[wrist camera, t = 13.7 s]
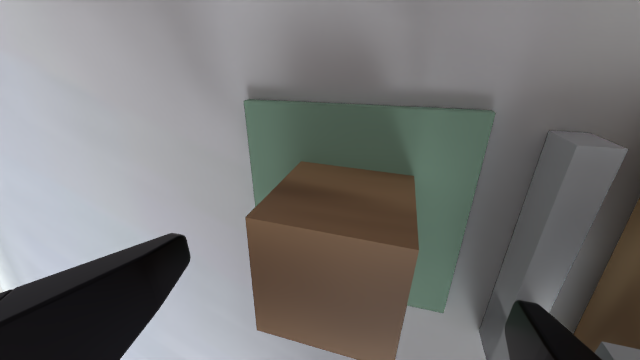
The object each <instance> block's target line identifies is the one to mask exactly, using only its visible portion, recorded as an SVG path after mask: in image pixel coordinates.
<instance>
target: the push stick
mask: <svg viewBox="0 0 640 360" xmlns="http://www.w3.org/2000/svg"><path fill="white" fill-rule="evenodd" d="M573 335H575V336H576V337H577V338H578V339H579V340H580V341H581V342H583V343H584V344H585V345H586V346H587V347H588V348H589V349H591V350H592V351H593V352H594V353H595V351H596V350H597V348H598V347H599V345H600V343H601V342H607V343H612V344H616V345H621V346H626V347H630V348H635V349H640V197H639V199H638V201H637V204H636V206H635V208H634V210H633V212H632V214H631V216H630V218H629V220H628V222H627V224H626V226H625V228H624V231H623V233H622V235H621V237H620V239H619V241H618V243H617V245H616V247H615V249H614V251H613V253H612V255H611V258H610V260H609V262H608V264H607V266H606V268H605V270H604V272H603V274H602V276H601V278H600V280H599V282H598V285H597V287H596V289H595V291H594V293H593V295H592V297H591V299H590V301H589V303H588V305H587V307H586V309H585V311H584V314H583V316H582V318H581V320H580V322H579V324H578V326H577V328H576V330H575V332H574V334H573Z"/></svg>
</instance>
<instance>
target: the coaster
mask: <svg viewBox="0 0 640 360" xmlns="http://www.w3.org/2000/svg"><path fill="white" fill-rule="evenodd" d="M244 108H245V117H246V126H247V135H248V144H249V153H250V162H251V171H252V180H253V189H254V198H255V207H256V206H257V205H258V204H259V203H260V202H261V201H262V200H263V199H264V198H265V197H266V196H267V195H268V194H269V193H270V192H271V191H272V190H273V189H274V188H275V187H276V186H277V185H278V184H279V183H280V182H281V181H282V180H283V179H284V178H285V177H286V176H287V175H288V174H289V173H290V172H291V171H292V170H293V169H294V168H295V167H296V166H297V165H298V164H299V163H300V162H301V161H303V162H310V163H318V164H326V165H334V166H341V167H349V168H357V169H365V170H372V171H380V172H388V173H396V174H403V175H411V176H414V180H415V196H416V211H417V226H418V242H419V253H418V257H417V262H416V266H415V271H414V275H413V280H412V285H411V289H410V294H409V298H408V303H407V305H408V306H412V307H417V308H421V309H426V310H431V311H435V312H440V313H444V309H445V305H446V301H447V297H448V294H449V290H450V286H451V282H452V278H453V274H454V271H455V267H456V263H457V259H458V255H459V251H460V248H461V244H462V240H463V236H464V232H465V228H466V225H467V221H468V217H469V213H470V209H471V205H472V202H473V198H474V194H475V190H476V186H477V182H478V178H479V175H480V171H481V167H482V163H483V159H484V155H485V152H486V148H487V144H488V140H489V136H490V132H491V129H492V125H493V121H494V117H495V112H494V111H492V110H475V109H453V108H431V107H409V106H387V105H365V104H343V103H321V102H299V101H277V100H255V99H248V100H245V101H244Z"/></svg>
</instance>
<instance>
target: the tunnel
mask: <svg viewBox="0 0 640 360" xmlns="http://www.w3.org/2000/svg"><path fill="white" fill-rule="evenodd" d="M627 151H628V149H627V148H625V147H622V146H620V145H618V144H615V143H613V142H611V141H608V140H606V139H604V138H601V137H599V136H597V135H594V134H592V133H582V132H565V131H549V132H548V135H547V138H546V141H545V144H544V147H543V150H542V152H541V155H540V158H539V161H538V164H537V167H536V170H535V172H534V175H533V178H532V181H531V184H530V187H529V190H528V193H527V195H526V198H525V201H524V204H523V207H522V210H521V213H520V215H519V218H518V221H517V224H516V227H515V230H514V233H513V236H512V238H511V241H510V244H509V247H508V250H507V253H506V256H505V258H504V261H503V264H502V267H501V270H500V273H499V276H498V278H497V281H496V284H495V287H494V290H493V293H492V296H491V299H490V301H489V304H488V307H487V310H486V313H485V316H484V319H483V321H482V324H481V327H480V330H479V333H480V337H481V341H482V345H483V349H484V352H485V356H486V360H510V359H509V354H508V348H507V343H506V338H505V323H506V321H507V318H508V316H509V313H510V311H511V308H512V306H513V303H514V302H515V301H516V300H523V301H528V302H534V303H537V304H539V305H540V306H541V307H543V308H544V309H545V310H546V311H547V312H548V313H550V310H551V308H552V306H553V304H554V302H555V300H556V298H557V296H558V294H559V292H560V290H561V288H562V286H563V284H564V282H565V279H566V277H567V275H568V273H569V271H570V269H571V267H572V265H573V263H574V261H575V259H576V257H577V255H578V253H579V250H580V248H581V246H582V244H583V242H584V240H585V238H586V236H587V234H588V232H589V230H590V228H591V226H592V224H593V222H594V219H595V217H596V215H597V213H598V211H599V209H600V207H601V205H602V203H603V201H604V199H605V197H606V195H607V193H608V191H609V188H610V186H611V184H612V182H613V180H614V178H615V176H616V174H617V172H618V170H619V168H620V166H621V164H622V162H623V159H624V157H625V155H626V153H627ZM595 354H596V355H597V356H599V357H600V358H601V359H602V360H640V349H635V348H630V347H626V346H621V345H616V344H612V343H607V342H601V343H600V345H599V347H598V348H597V350H596V351H595Z"/></svg>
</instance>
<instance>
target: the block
mask: <svg viewBox="0 0 640 360" xmlns="http://www.w3.org/2000/svg"><path fill="white" fill-rule="evenodd" d="M245 218H246V228H247V238H248V248H249V257H250V267H251V277H252V287H253V297H254V306H255V316H256V326H257V330H259V331H262V332H265V333H269V334H272V335H276V336H279V337H282V338H286V339H289V340H292V341H296V342H299V343H303V344H306V345H309V346H313V347H316V348H320V349H323V350H326V351H330V352H333V353H337V354H340V355H343V356H347V357H350V358H354V359H357V360H395V357H396V352H397V348H398V343H399V339H400V334H401V330H402V325H403V321H404V316H405V312H406V307H407V303H408V298H409V294H410V289H411V285H412V280H413V275H414V271H415V266H416V262H417V257H418V253H419V242H418V226H417V211H416V196H415V180H414V176H411V175H403V174H396V173H388V172H380V171H372V170H365V169H357V168H349V167H341V166H334V165H326V164H318V163H310V162H303V161H301V162H300V163H299V164H298V165H297V166H296V167H295V168H294V169H293V170H292V171H291V172H290V173H289V174H288V175H287V176H286V177H285V178H284V179H283V180H282V181H281V182H280V183H279V184H278V185H277V186H276V187H275V188H274V189H273V190H272V191H271V192H270V193H269V194H268V195H267V196H266V197H265V198H264V199H263V200H262V201H261V202H260V203H259V204H258V205H257V206H256V207H255V208H254V209H253V210H252V211H251V212H250V213H249V214H248V215H247V216H246V217H245Z"/></svg>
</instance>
